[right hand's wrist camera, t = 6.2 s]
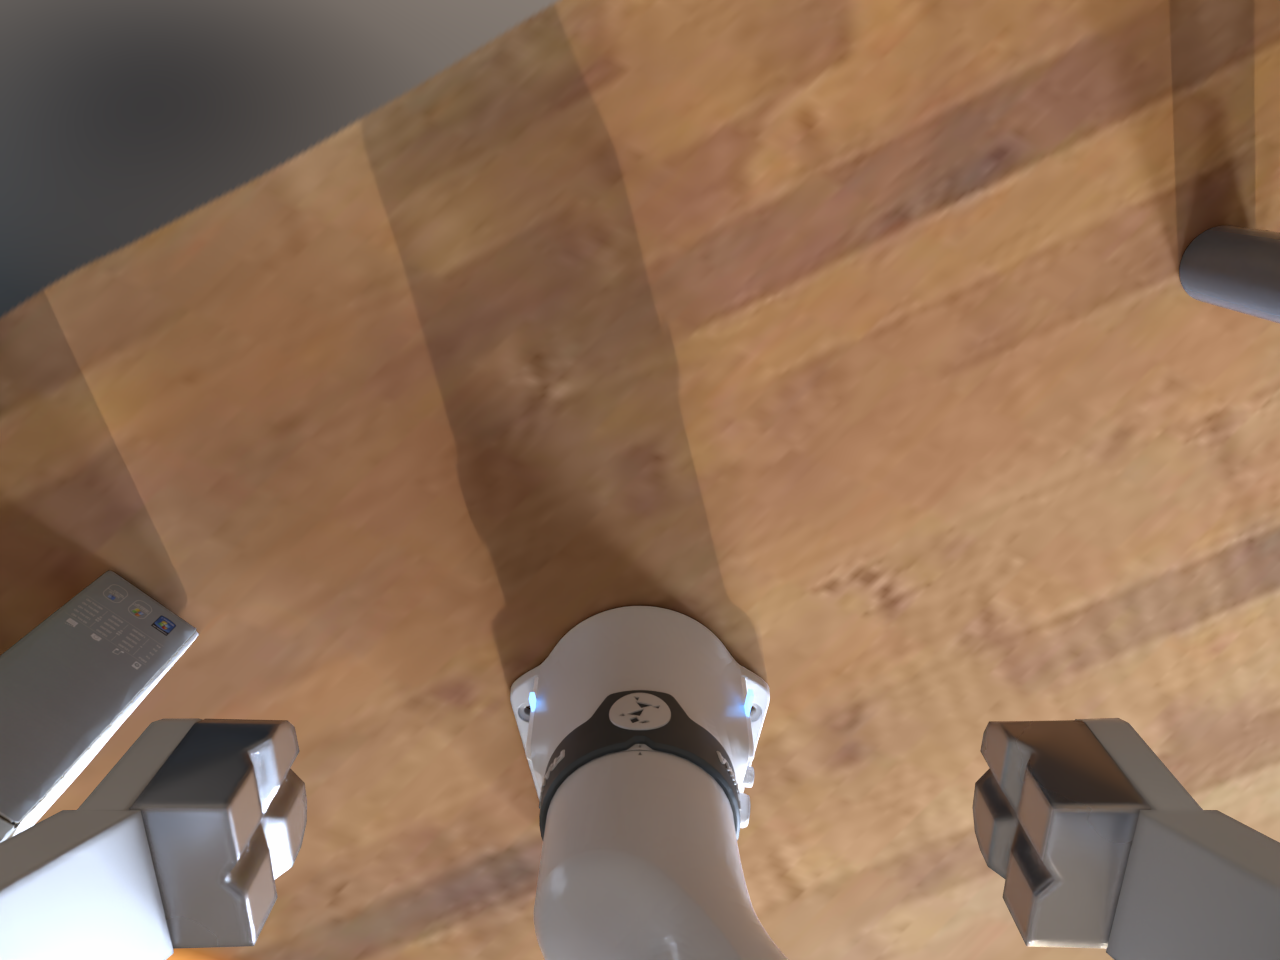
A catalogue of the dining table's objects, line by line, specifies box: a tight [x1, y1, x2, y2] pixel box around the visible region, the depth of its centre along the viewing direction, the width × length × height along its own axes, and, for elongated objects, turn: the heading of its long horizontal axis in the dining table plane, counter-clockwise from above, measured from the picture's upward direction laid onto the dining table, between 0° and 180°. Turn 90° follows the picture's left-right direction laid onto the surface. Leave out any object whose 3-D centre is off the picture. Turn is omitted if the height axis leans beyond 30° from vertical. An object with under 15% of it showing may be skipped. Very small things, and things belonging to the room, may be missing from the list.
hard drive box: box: [0, 571, 199, 843], centre depth 56 cm, size 16×8×20 cm, turn 138°
